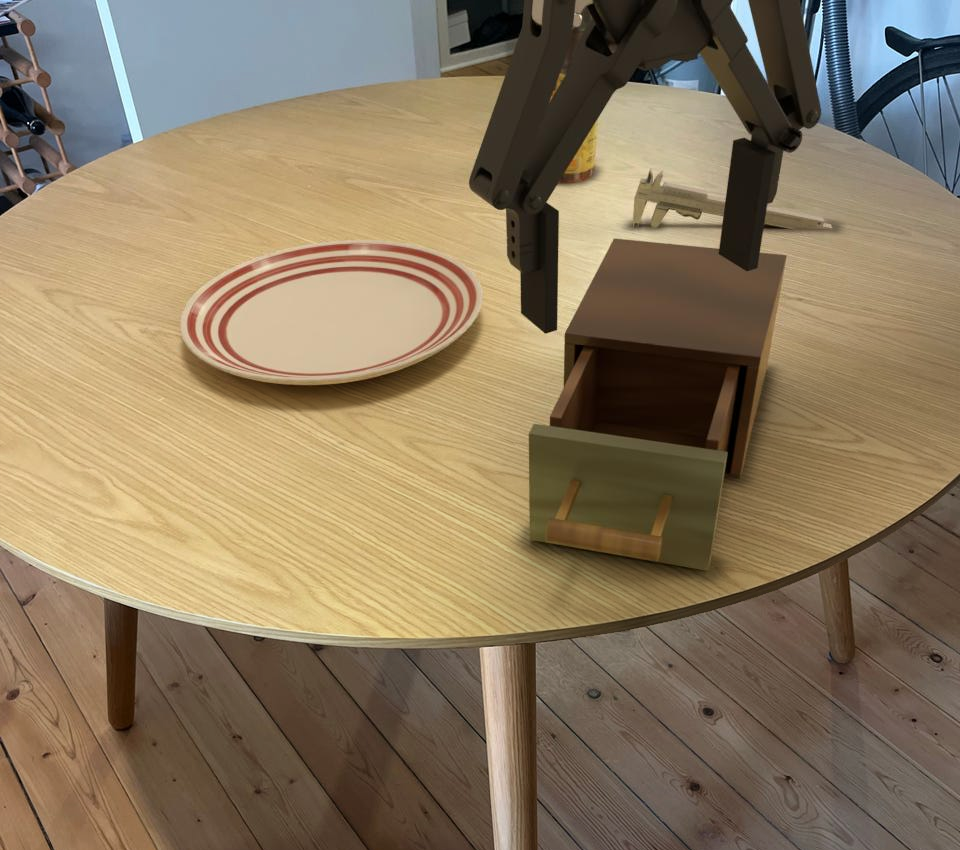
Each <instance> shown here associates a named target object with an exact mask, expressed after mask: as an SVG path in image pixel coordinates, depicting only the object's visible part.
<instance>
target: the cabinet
mask: <svg viewBox="0 0 960 850" xmlns="http://www.w3.org/2000/svg"><path fill="white" fill-rule="evenodd" d="M611 241H612V242H611V243H610V245H609V246H608V250H607V251H606V253H605V255H604V257H603V259H602V261H601V263H600V264H599V266H598V268H597V271H596V272H595V274H594V276H593V277H592V280H591V282H590V284H589V286H588V288H587V290H586V291H585V294H584V295H583V297H582V299H581V301H580V303H579V305H578V307H577V309H576V310H575V312H574V315H573V317H572V319H571V320H570V322H569V323H568V326H567V328H566V329H565V332H564V341H563V342H564V346H563V347H564V348H563V351H564V352H563V387H564V386H565V384H566V382H567V380H568V378H569V376H570V374H571V372H572V370H573V368H574V366H575V364H576V362H577V359H578V357H579V355H580V353H581V351H582V349H583V347H584V345H585V346H593V347H601V348H609V349H617V350H625V351H633V352H641V353H649V354H657V355H665V356H673V357H681V358H689V359H697V360H705V361H713V362H721V363H729V364H737V365H743V366H742V372H741V378H740V385H739V391H738V397H737V404H736V410H735V416H734V423H733V429H732V435H731V442H730V446H729V450H728V454H727V460H726V467H725V473H724V477H728V478H734V479H741V477H742V473H743V470H744V465H745V460H746V457H747V452H748V448H749V444H750V439H751V435H752V431H753V427H754V424H755V420H756V415H757V411H758V407H759V403H760V399H761V394H762V391H763V386H764V381H765V378H766V374H767V370H768V369H767V368H768V364H769V359H770V358H769V357H770V353H771V346H772V342H773V335H774V329H775V323H776V319H777V312H778V308H779V303H780V297H781V296H780V295H781V291H782V284H783V279H784V274H785V268H786V263H787V257H788V256H787V255H786V254H780V253H779V254H778V253H769V252H768V253H767V252H760V254H759V260H758V267H757V269H753V270H750V271H745V270H744V269H742V268H740V267H739V266H737V265H736V264H734V263H732V262H731V261H729V260H727V259H726V258H724V257H723V256H721V255H719V247H718V248H717V247H707V246H695V245H687V244H676V243H666V242H655V241H644V240H634V239H623V238H616V237H615V238H613V240H611Z"/></svg>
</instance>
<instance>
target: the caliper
mask: <svg viewBox="0 0 960 850" xmlns="http://www.w3.org/2000/svg"><path fill="white" fill-rule="evenodd" d="M663 177H664V170H661V171H659V173H658V174H657V175H656V176H655V178H654V172H653V169H652V168H651V167H650V168H649V171H648V174H647V178H640V181H639V184H638V186H637V190H636V192H635V196H634V199H633V213H632V228H639V226H640V224H641V220H642V217H643V215H644V211H645V209H646V206H647V203H648V202H650V203H655V204H656V205H655V206H654V210H653V214H652V216H651V219H650V228H653V229H655V228H656V229H657V228H658V227H659V226H660V224H661V222H662V221H663V220H664V218H665V217H666V215H667V214H668V212H669V211H670V210H671V211H675V213H677V214H679V215H680V216H682V217H684V218H688V217H690V218H692V219H695V220H700V219H701V216H702V213H704V214H709V215H715V216H719V217H723V216H724V208H725V200H726V197H720V196H715V195H710V194H708V190H706V189H703V188H697V187H693V186H687V185H683V184H678V183H674V182H669V181H664V182H663V184H662V185H661V182H662V180H663ZM823 217H824V216H823ZM823 217H822V216H817V215H812V214H807V213H802V212H797V211H792V210H787V209H782V208H777V207H773V206H767V210H766V217H765V223H764V225H767V226H771V227H776V228H781V229H785V230H833V227H832V224H831V223H827V222H825V220H824V218H823Z"/></svg>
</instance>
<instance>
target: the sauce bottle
mask: <svg viewBox="0 0 960 850" xmlns="http://www.w3.org/2000/svg"><path fill="white" fill-rule="evenodd" d="M581 15H582V23H581V25H580V26H579V27H578V28H574V29H573V30H572V36H571V41H570V45H569V49H568V52H567V55H566V58H565V61H564V64H563V67H562V69H561V72H560V75H559V77H558V80H557V83H556V85H555V88H554V91H553V93H552V96H551V99H552V97H553V95H554V94H555V92H556V90H557V89H558V87H559V85H560V83H561V82H562V80H563V78H564V77H565V75H566V73H567V72H568V70H569V68H570V67H571V65H572V61H573V60H572V53H573V50H574V48H575V46H576V45H577V43H578V41H579V40H580V38H581V36H582V35H583V33H584V31H585V30H586V28H587V26H588V24H589V23H590V21H591V19H592V17H591V15H590V14H589V12H588V10H587V8H586V7H585V8H584V9H583V11H582V13H581ZM551 99H550V100H551ZM549 102H550V101H549ZM598 123H599V118H598V119H597V121H596V122H595V124H594V126H593V127H592V129H591V131H590V132H589V134H588V135H587V137H586V139H585V140H584V142H583V144H582V145H581V147H580V149H579V150H578V152H577V153H576V155H575V157H574V158H573V160H572V162H571V163H570V165H569V166H568V168H567V170H566V171H565V173H564V175H563V176H562V178H561V179H560V181H559V183H560V184H572V183H579V182H584V181H587V180H588V179H589V178H591V177H592V175H593V174H594V166H595V164H596V151H597V139H598V126H599V125H598ZM559 183H558V184H559Z"/></svg>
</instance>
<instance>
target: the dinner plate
mask: <svg viewBox="0 0 960 850" xmlns="http://www.w3.org/2000/svg"><path fill="white" fill-rule="evenodd" d="M483 291H484V290H483V287H482V284H481V282H480V280H479V278H478V276H477V275H476V274H475V272H473V270H471V269H470V267H468V266H467V265H466V264H465V263H463V262H462V261H460V260H458V259H456V258H455V257H452V256H451V255H448V254H446V253H443V252H442V251H439V250H435V249H432V248H428V247H425V246H422V245H416V244H412V243H407V242H400V241H392V240H383V239H382V240H381V239H347V240H345V239H344V240H331V241H321V242H316V243H315V242H314V243H307V244H302V245H297V246H292V247H288V248H284V249H280V250H277V251H273V252H269V253H267V254H263V255H261V256H257V257H254V258H252V259H249V260H246V261H243V262H241V263H239V264H236V265H235V266H233V267H230V268H228V269H226V270H224V271H223V272H221V273H219V274H218V275H216V276H214V277H213V278H211V279H210V280H208V281H207V282H206V283H204V284H203V285H202V286H200V288H199V289H197V290H196V291H195V292H194V293H193V294H192V296H191V297H190V298H189V299H188V301H187V302H186V304H185V305H184V307H183V309H182V312H181V316H180V317H179V331H180V332H179V333H180V335H181V338H182V341H183V342H184V344H185V346H186V347H187V349H188V350H189V351H190V352H191V353H192V354H193V355H194V356H195V357H196V358H198V359H200V360H201V361H202V362H204V363H206V364H207V365H208V366H211V367H213V368H215V369H217V370H220V371H222V372H225V373H226V374H231V375H233V376H236V377H239V378H242V379H243V378H244V379H248V380H252V381H257V382H263V383H269V384H280V385H291V386H292V385H293V386H325V385H338V384H345V383H351V382H352V383H353V382H359V381H363V380H368V379H374V378H378V377H380V376H384V375H388V374H391V373H394V372H397V371H401V370H404V369H405V368H408V367H411V366H414V365H416V364H418V363H420V362H422V361H425V360H426V359H428V358H430V357H433V356H434V355H436V354H438V353H439V352H441V351H442V350H444V349H445V348H447V347H448V346H450V345H451V344H453V343H454V342H456V340H458V339H459V338H460V337H461V336H463V335H464V334H465V333H466V331H467V330H468V329H469V328H470V327H471V326H472V325H473V324H474V322H475V321H476V319H478V316H479V314H480V311H481V309H482V306H483V301H484V292H483Z"/></svg>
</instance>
